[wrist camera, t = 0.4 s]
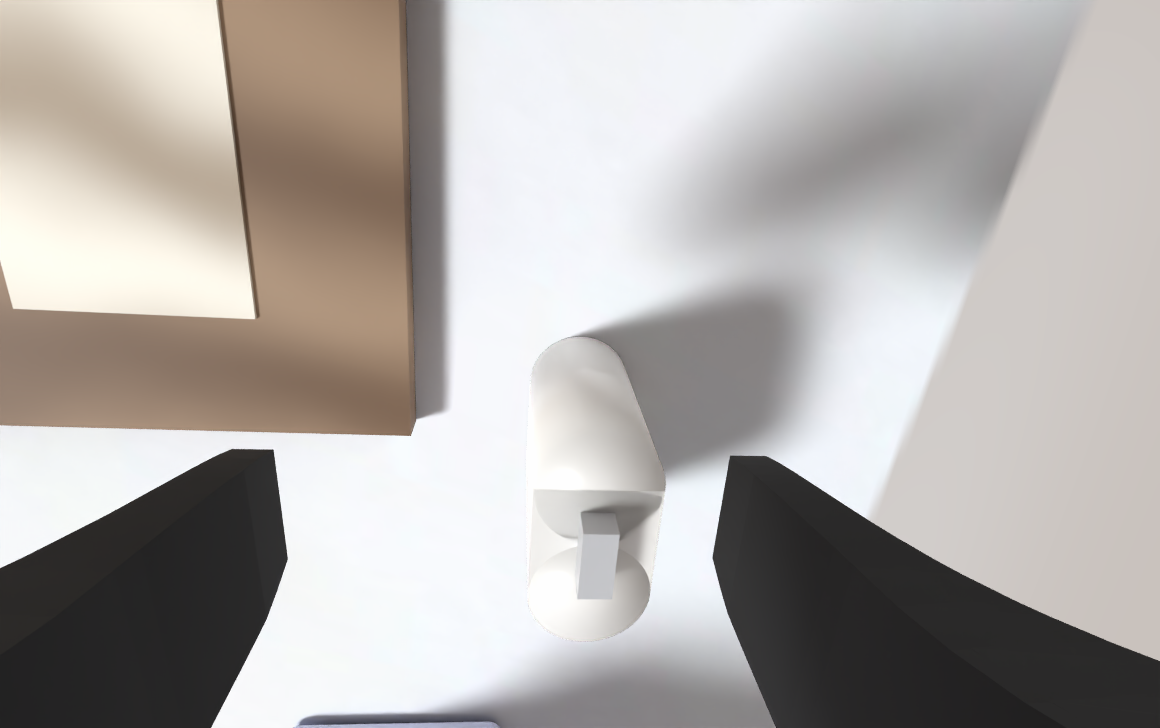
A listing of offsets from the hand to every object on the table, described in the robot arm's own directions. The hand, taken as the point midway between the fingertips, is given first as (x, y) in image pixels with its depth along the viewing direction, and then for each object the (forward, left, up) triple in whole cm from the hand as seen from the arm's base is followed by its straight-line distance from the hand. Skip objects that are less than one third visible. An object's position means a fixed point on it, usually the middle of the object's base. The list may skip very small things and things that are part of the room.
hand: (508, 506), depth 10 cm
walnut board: (+5, +10, -10) cm, 14 cm away
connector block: (-3, -2, -10) cm, 10 cm away
